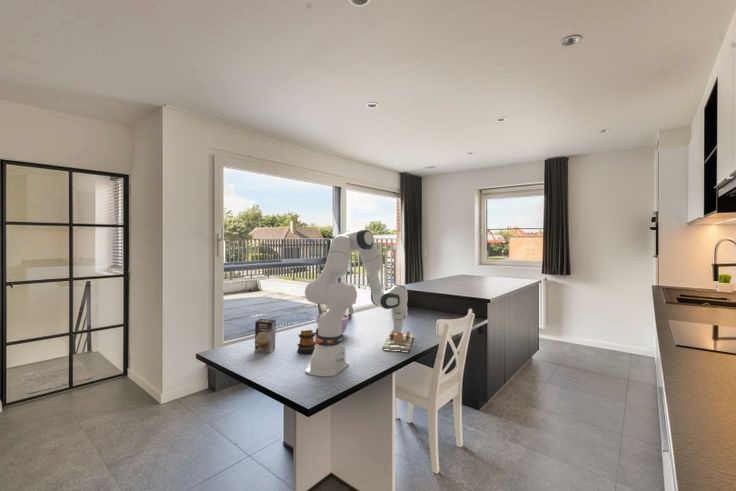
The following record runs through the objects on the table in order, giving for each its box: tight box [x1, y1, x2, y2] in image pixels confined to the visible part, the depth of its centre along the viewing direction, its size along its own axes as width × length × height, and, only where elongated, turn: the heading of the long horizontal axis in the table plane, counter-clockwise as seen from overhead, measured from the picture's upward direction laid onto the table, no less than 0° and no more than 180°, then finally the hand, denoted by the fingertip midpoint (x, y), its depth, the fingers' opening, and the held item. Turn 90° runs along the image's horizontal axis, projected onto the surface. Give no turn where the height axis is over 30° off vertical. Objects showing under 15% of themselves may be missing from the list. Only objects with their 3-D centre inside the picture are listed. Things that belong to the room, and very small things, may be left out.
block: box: [394, 332, 404, 343], centre depth 191 cm, size 4×4×4 cm
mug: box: [296, 327, 318, 356], centre depth 178 cm, size 13×10×12 cm
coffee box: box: [254, 318, 277, 354], centre depth 177 cm, size 9×6×16 cm
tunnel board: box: [382, 329, 414, 352], centre depth 193 cm, size 28×14×5 cm, turn 168°
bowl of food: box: [315, 313, 350, 335], centre depth 207 cm, size 20×20×12 cm
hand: (399, 336), depth 195 cm, fingers closed
